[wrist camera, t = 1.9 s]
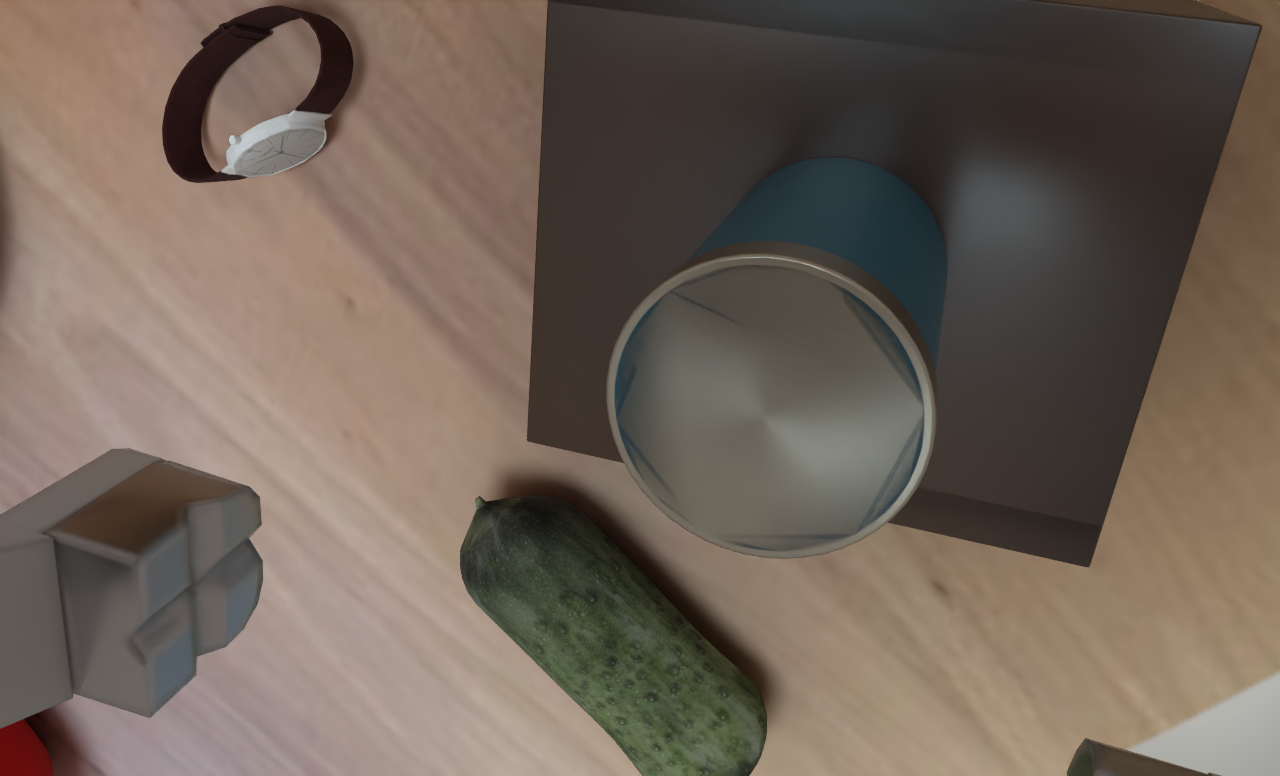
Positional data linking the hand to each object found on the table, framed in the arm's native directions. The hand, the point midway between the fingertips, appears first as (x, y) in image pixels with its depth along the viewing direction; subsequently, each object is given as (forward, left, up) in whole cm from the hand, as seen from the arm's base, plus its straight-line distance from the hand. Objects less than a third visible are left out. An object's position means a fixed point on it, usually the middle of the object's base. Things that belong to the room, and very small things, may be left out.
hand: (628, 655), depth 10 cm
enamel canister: (0, +1, -15) cm, 15 cm away
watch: (+20, +1, -24) cm, 31 cm away
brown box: (0, +1, -24) cm, 24 cm away
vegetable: (+6, +18, -24) cm, 31 cm away
